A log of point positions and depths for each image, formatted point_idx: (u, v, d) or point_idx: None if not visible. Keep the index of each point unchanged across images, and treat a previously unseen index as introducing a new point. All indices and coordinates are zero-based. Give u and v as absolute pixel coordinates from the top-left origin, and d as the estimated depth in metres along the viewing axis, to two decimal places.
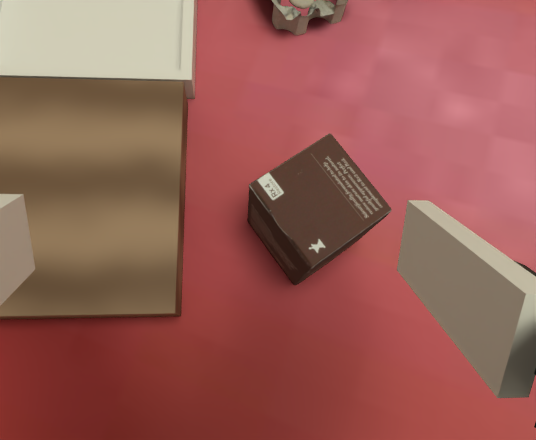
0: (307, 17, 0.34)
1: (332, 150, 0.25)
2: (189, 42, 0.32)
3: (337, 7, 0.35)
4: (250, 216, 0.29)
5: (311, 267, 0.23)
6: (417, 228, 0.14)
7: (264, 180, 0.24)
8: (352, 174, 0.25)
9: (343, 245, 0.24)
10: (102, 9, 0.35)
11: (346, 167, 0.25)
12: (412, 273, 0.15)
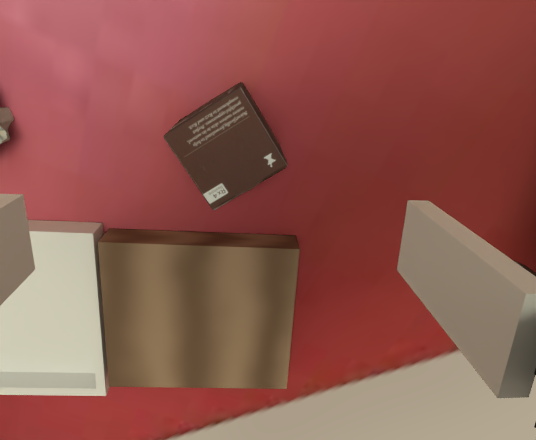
0: None
1: (181, 136, 0.27)
2: (52, 234, 0.34)
3: None
4: None
5: (286, 165, 0.28)
6: (417, 228, 0.14)
7: (210, 198, 0.29)
8: (205, 120, 0.27)
9: (270, 136, 0.28)
10: (18, 300, 0.38)
11: (198, 125, 0.27)
12: (412, 273, 0.15)
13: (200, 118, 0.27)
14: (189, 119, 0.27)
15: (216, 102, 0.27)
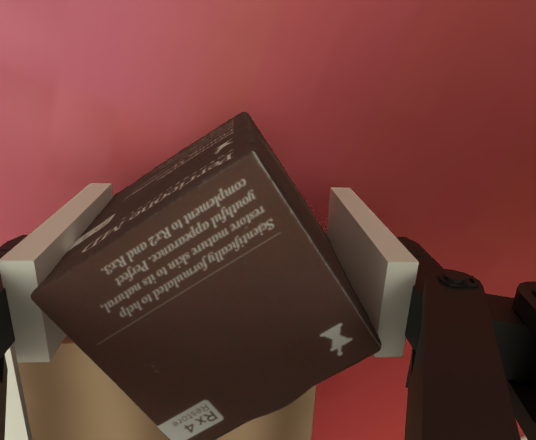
0: None
1: (82, 294, 0.09)
2: None
3: None
4: None
5: (379, 347, 0.11)
6: (335, 212, 0.15)
7: (176, 433, 0.11)
8: (149, 249, 0.09)
9: (338, 280, 0.10)
10: None
11: (129, 263, 0.09)
12: None
13: (135, 244, 0.09)
14: (102, 247, 0.09)
15: (180, 197, 0.09)
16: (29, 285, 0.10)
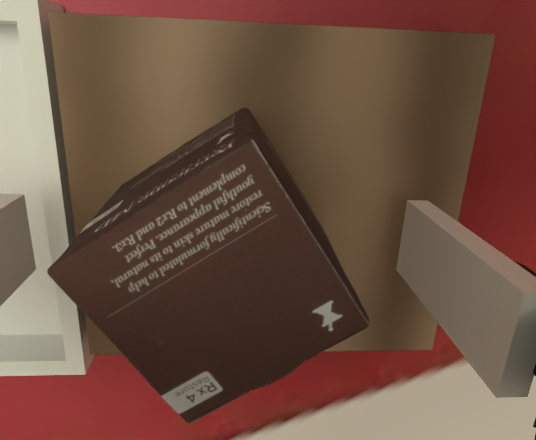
0: None
1: (94, 270, 0.10)
2: None
3: None
4: None
5: (368, 324, 0.11)
6: (416, 228, 0.14)
7: (179, 402, 0.12)
8: (157, 229, 0.10)
9: (329, 260, 0.11)
10: None
11: (138, 241, 0.10)
12: (412, 273, 0.15)
13: (143, 224, 0.10)
14: (113, 227, 0.10)
15: (186, 181, 0.10)
16: None
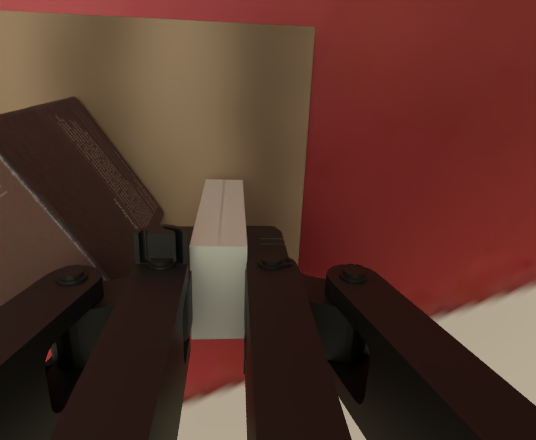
0: None
1: None
2: None
3: None
4: None
5: None
6: None
7: None
8: None
9: (72, 236, 0.11)
10: None
11: None
12: None
13: None
14: None
15: None
16: (212, 268, 0.11)
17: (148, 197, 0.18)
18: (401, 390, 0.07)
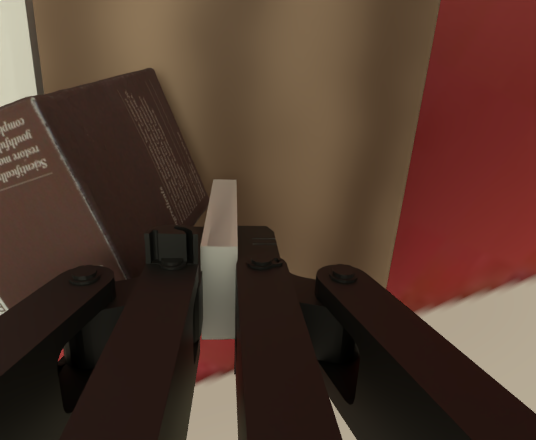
0: None
1: None
2: None
3: None
4: None
5: None
6: None
7: None
8: None
9: (103, 228, 0.11)
10: None
11: None
12: None
13: None
14: None
15: None
16: (223, 269, 0.11)
17: (198, 185, 0.17)
18: (391, 390, 0.07)
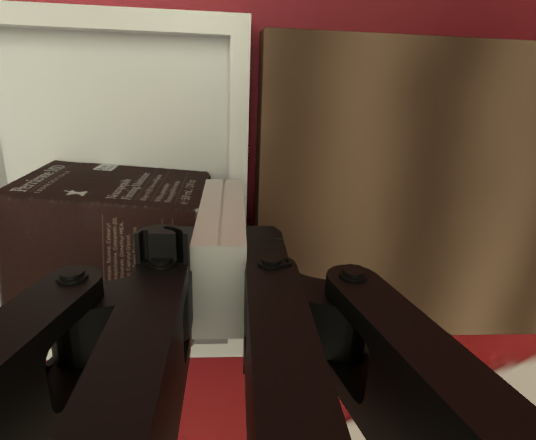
0: None
1: None
2: (169, 16, 0.17)
3: None
4: None
5: None
6: None
7: None
8: None
9: (0, 288, 0.16)
10: None
11: None
12: None
13: None
14: (37, 169, 0.18)
15: None
16: (213, 268, 0.11)
17: None
18: (401, 390, 0.07)
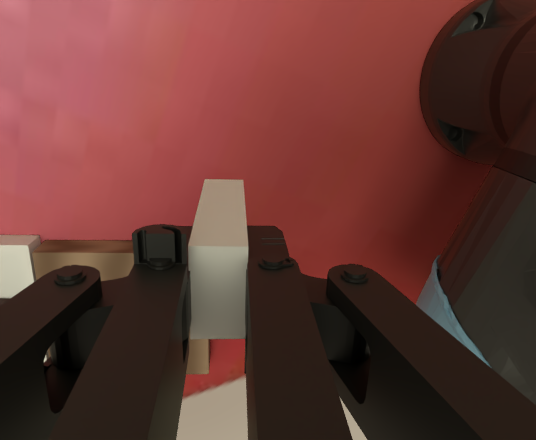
0: None
1: None
2: None
3: None
4: None
5: None
6: None
7: None
8: None
9: None
10: None
11: None
12: None
13: None
14: None
15: None
16: (211, 268, 0.11)
17: None
18: (402, 390, 0.07)
